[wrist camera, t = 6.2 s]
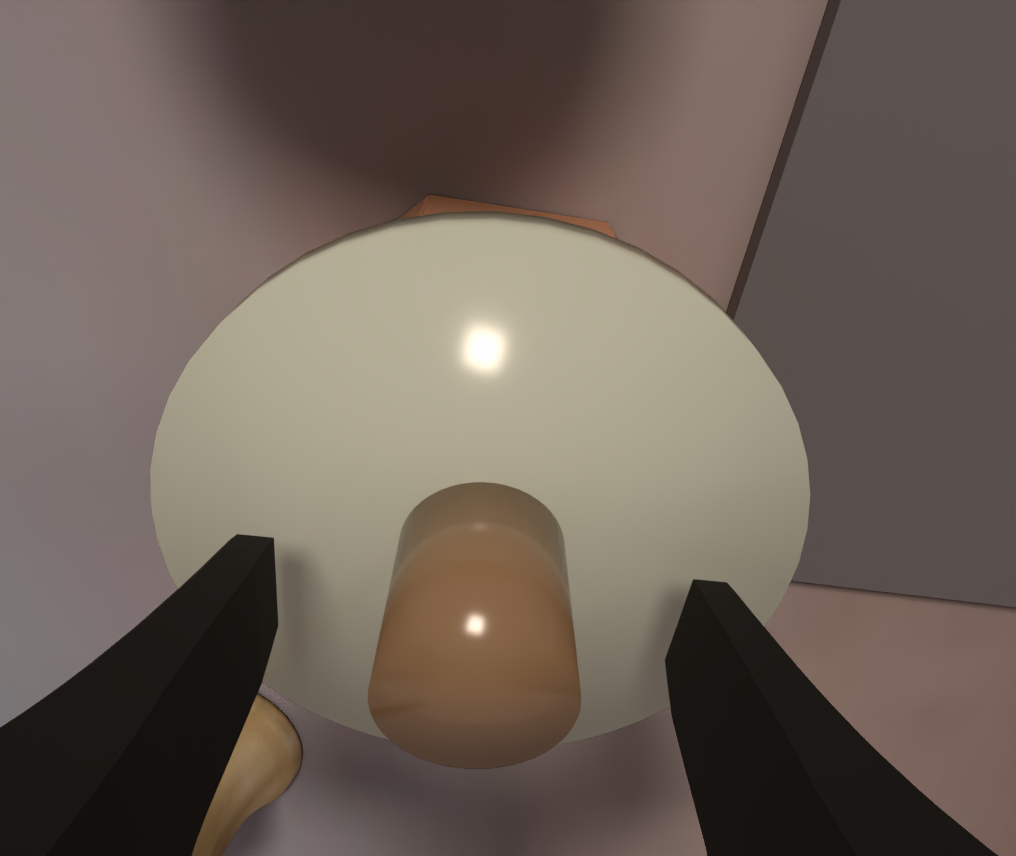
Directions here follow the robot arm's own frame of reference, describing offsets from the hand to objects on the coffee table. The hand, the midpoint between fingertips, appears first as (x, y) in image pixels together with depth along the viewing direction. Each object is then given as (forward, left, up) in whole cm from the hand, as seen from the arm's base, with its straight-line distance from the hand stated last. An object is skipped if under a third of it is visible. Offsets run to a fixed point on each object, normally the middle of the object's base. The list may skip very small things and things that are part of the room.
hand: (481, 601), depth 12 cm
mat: (-13, -3, -8) cm, 15 cm away
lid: (0, 0, -2) cm, 3 cm away
